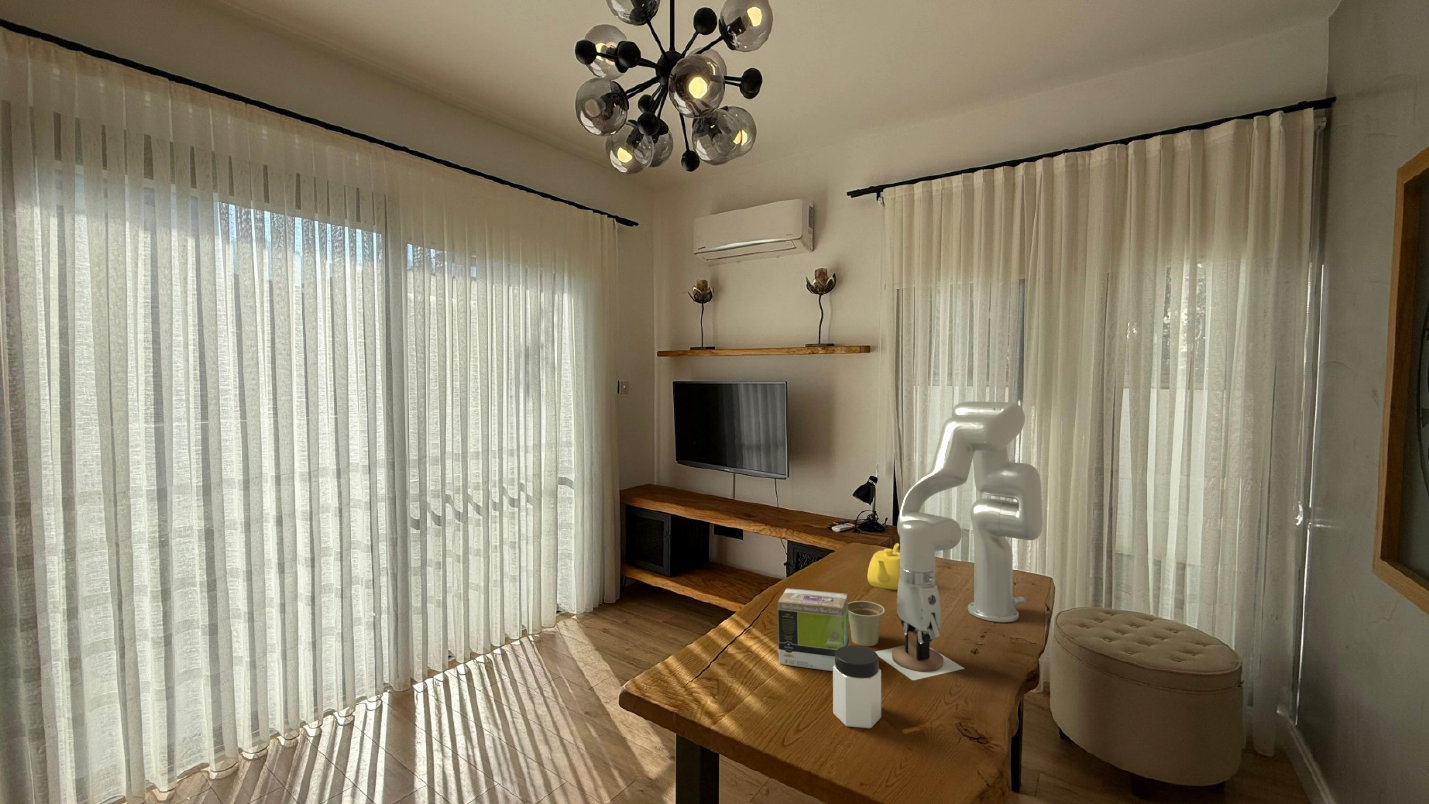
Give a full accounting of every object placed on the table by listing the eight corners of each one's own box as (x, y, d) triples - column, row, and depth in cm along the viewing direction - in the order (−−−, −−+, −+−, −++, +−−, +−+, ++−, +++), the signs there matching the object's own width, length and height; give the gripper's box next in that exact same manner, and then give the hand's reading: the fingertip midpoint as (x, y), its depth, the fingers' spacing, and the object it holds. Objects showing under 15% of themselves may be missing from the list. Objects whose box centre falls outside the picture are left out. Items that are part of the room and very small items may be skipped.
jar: (848, 698, 117) (848, 640, 117) (886, 713, 112) (886, 652, 112) (826, 718, 111) (825, 656, 110) (866, 735, 105) (866, 670, 105)
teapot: (910, 599, 171) (910, 563, 170) (858, 590, 179) (858, 555, 178) (926, 577, 189) (925, 545, 189) (878, 570, 198) (878, 538, 197)
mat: (921, 644, 141) (921, 642, 141) (964, 671, 128) (964, 668, 128) (872, 654, 136) (872, 652, 136) (912, 683, 123) (912, 680, 123)
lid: (920, 645, 139) (920, 620, 139) (954, 666, 129) (954, 638, 129) (882, 653, 135) (882, 627, 135) (914, 675, 125) (914, 647, 125)
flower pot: (886, 653, 137) (886, 616, 137) (845, 649, 139) (845, 614, 139) (883, 636, 146) (883, 602, 146) (844, 633, 148) (844, 599, 148)
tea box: (849, 654, 137) (849, 592, 136) (844, 675, 127) (844, 608, 127) (786, 646, 141) (786, 585, 141) (777, 665, 132) (776, 600, 131)
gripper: (957, 585, 125) (956, 669, 126) (907, 563, 141) (907, 638, 141) (929, 589, 123) (928, 675, 123) (881, 567, 138) (881, 643, 138)
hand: (917, 654), depth 132 cm, fingers open, 3 cm apart
